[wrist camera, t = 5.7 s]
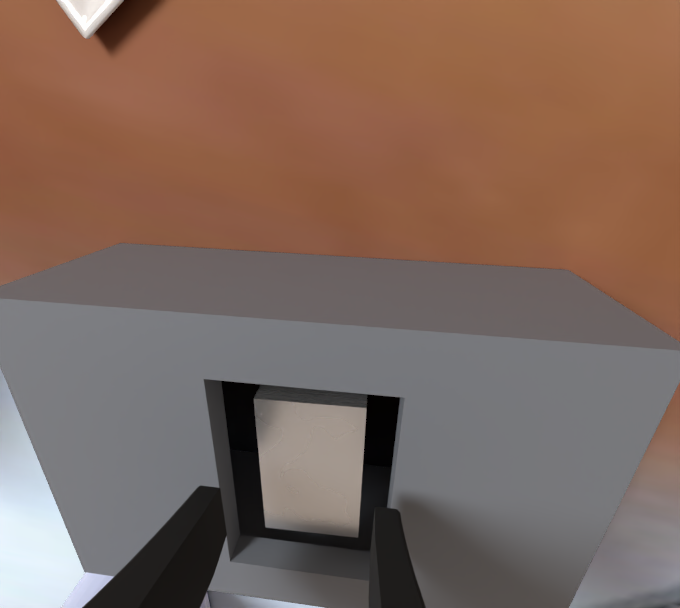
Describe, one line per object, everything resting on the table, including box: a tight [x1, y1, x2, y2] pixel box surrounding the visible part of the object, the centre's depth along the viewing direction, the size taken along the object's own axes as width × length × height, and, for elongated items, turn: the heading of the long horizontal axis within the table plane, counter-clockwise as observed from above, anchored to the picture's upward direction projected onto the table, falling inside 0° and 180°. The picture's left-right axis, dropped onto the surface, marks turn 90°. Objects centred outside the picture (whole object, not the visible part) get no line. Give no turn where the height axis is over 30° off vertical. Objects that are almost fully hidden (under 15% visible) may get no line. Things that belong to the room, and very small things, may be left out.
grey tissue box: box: [0, 243, 680, 608], centre depth 14 cm, size 12×18×6 cm, turn 88°
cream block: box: [254, 384, 367, 538], centre depth 14 cm, size 6×4×5 cm, turn 179°
